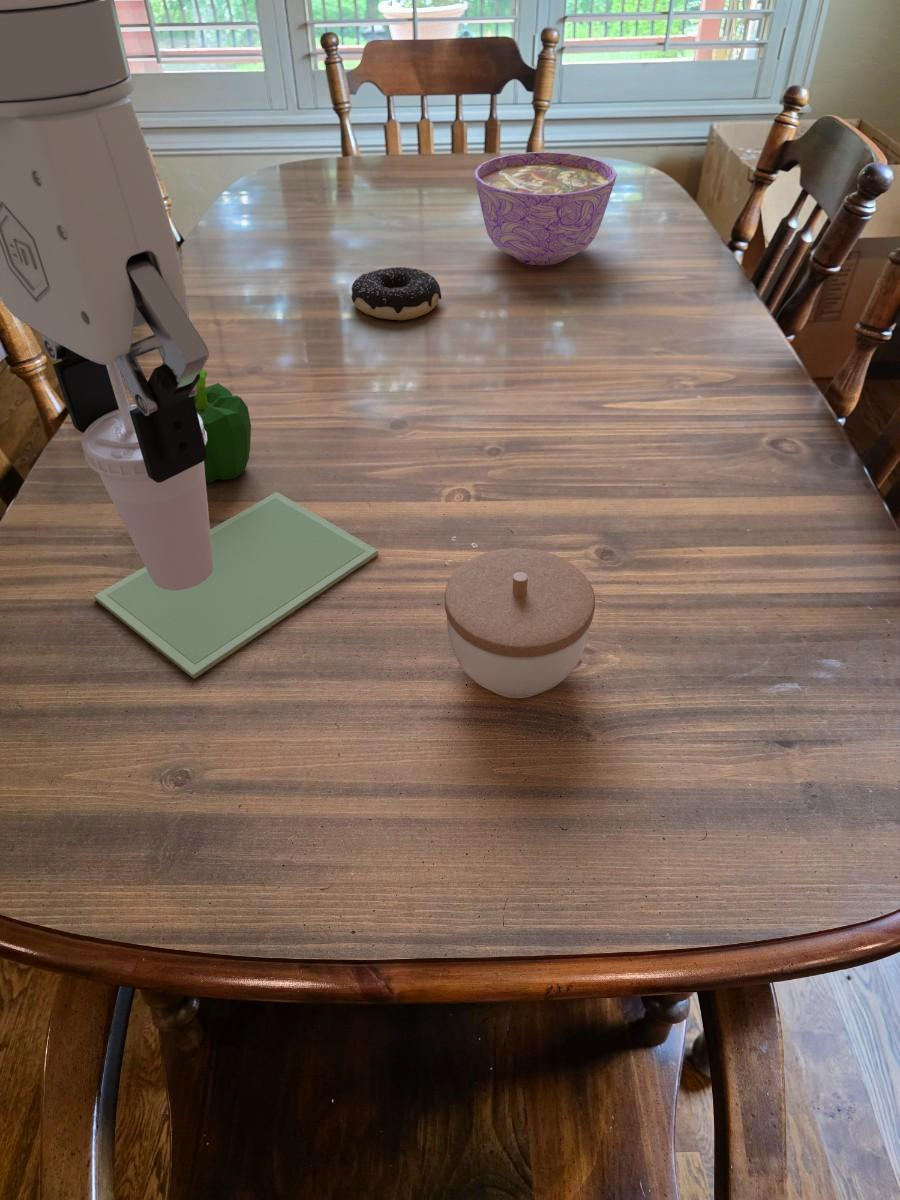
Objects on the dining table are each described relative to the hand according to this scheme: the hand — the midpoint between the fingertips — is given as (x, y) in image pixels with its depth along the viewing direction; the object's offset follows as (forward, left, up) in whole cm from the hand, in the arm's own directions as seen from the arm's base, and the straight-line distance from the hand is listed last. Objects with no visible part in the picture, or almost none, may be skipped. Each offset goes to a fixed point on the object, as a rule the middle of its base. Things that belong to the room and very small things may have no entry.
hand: (139, 442), depth 46 cm
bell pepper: (+21, +28, -25) cm, 43 cm away
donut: (+61, +42, -25) cm, 78 cm away
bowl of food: (+88, +38, -25) cm, 99 cm away
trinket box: (+19, -12, -25) cm, 33 cm away
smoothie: (0, 0, -9) cm, 9 cm away
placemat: (+12, +13, -24) cm, 30 cm away
